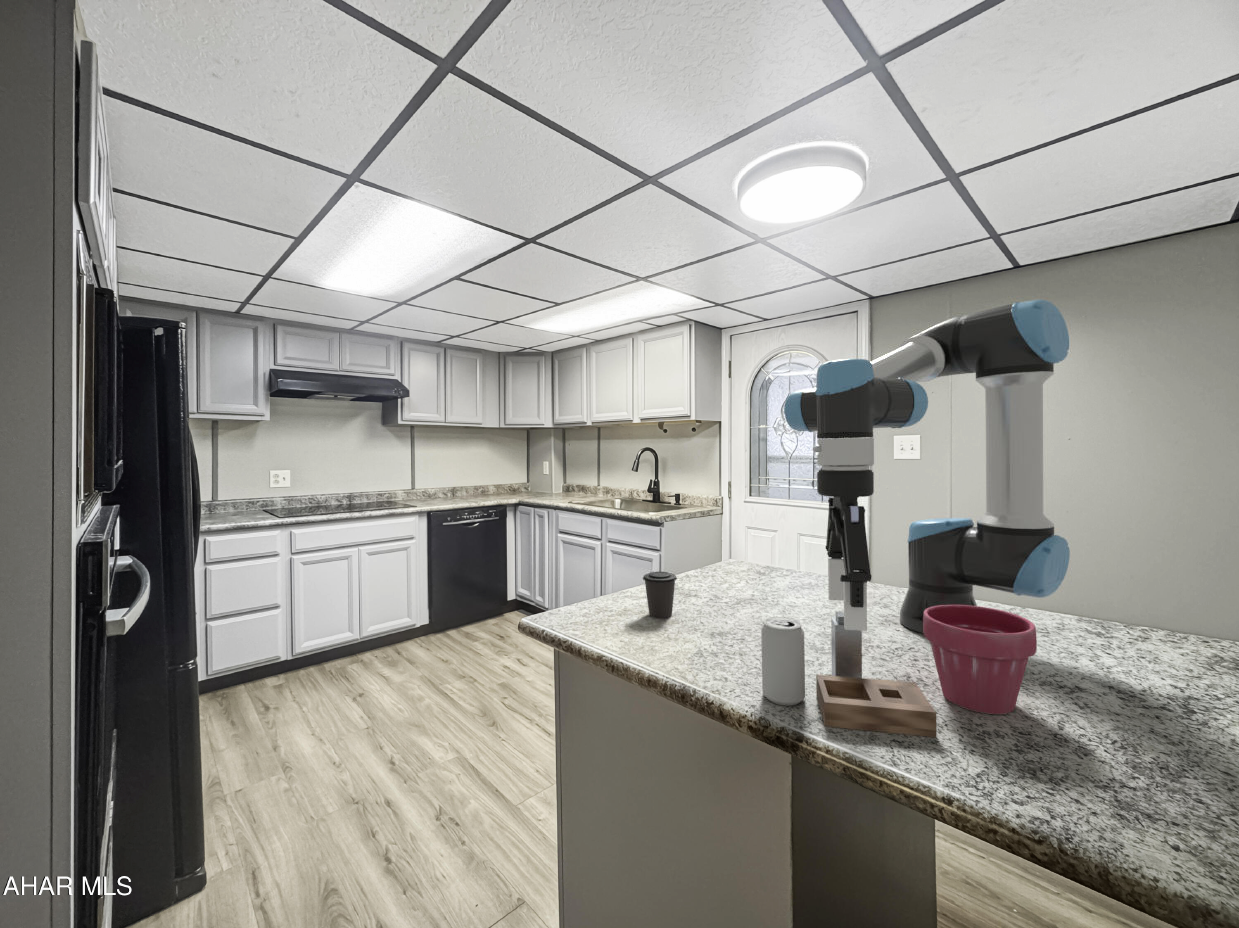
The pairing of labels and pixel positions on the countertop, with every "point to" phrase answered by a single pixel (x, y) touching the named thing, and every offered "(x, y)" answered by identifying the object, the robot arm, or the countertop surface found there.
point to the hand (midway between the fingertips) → (845, 613)
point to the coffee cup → (660, 593)
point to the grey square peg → (845, 649)
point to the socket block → (875, 705)
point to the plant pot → (980, 654)
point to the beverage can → (783, 661)
